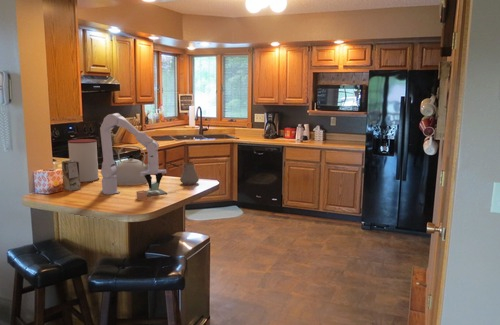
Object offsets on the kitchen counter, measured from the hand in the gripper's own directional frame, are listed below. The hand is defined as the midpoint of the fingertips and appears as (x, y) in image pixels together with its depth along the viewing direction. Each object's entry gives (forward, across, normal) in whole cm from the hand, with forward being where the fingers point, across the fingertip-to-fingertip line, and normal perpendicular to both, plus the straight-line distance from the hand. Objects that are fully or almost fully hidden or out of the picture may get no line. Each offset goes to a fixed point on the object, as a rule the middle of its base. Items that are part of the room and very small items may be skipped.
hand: (153, 187), depth 234 cm
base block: (+2, 0, 0) cm, 2 cm away
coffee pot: (+3, +22, +10) cm, 24 cm away
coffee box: (+3, -36, +35) cm, 50 cm away
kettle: (+4, +1, +36) cm, 37 cm away
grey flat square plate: (+3, 0, 0) cm, 3 cm away
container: (+3, -24, +56) cm, 61 cm away
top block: (+3, -10, -8) cm, 13 cm away
